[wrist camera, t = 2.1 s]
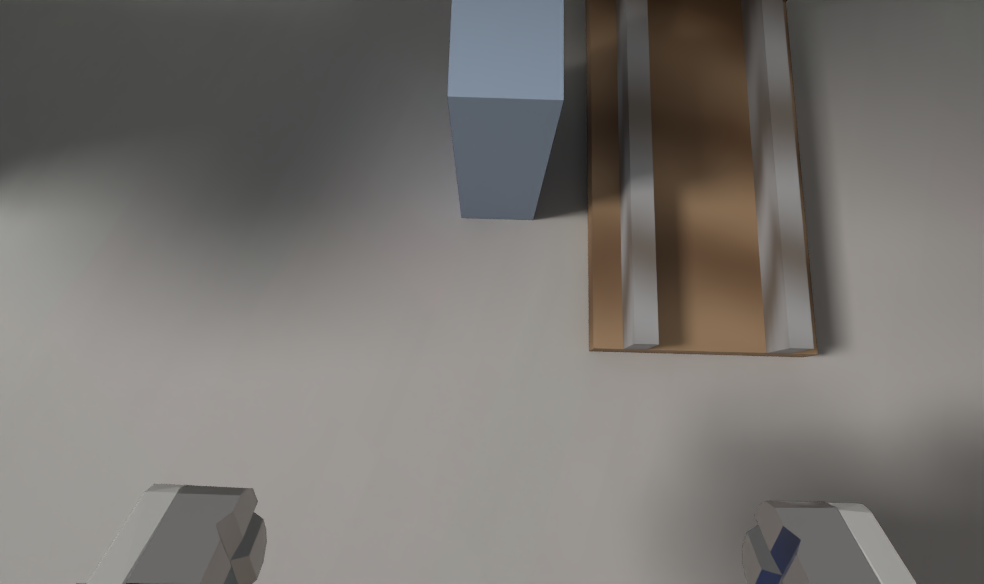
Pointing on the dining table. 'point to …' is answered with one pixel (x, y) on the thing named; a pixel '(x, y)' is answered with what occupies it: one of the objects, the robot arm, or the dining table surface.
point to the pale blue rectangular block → (504, 101)
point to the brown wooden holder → (695, 181)
